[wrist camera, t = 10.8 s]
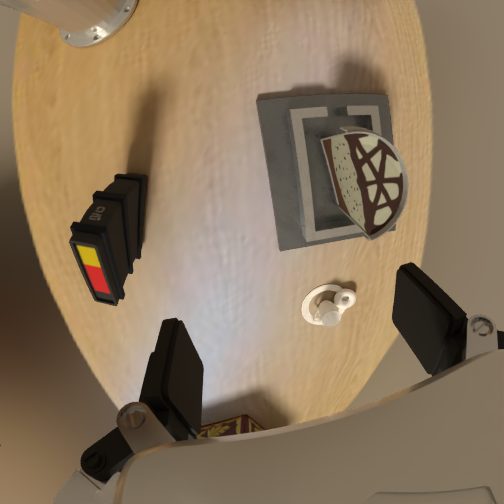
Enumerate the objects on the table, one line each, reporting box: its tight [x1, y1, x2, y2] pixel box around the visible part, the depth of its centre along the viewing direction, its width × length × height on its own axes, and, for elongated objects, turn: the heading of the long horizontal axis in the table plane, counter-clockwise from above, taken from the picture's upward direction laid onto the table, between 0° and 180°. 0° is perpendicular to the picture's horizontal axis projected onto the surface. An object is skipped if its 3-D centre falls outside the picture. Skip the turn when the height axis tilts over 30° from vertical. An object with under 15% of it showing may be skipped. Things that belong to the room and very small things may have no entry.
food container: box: [320, 126, 409, 241], centre depth 29 cm, size 12×6×10 cm, turn 19°
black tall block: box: [69, 173, 147, 306], centre depth 30 cm, size 4×13×15 cm, turn 168°
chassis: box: [256, 94, 396, 251], centre depth 33 cm, size 20×18×4 cm
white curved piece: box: [301, 284, 356, 327], centre depth 42 cm, size 9×8×4 cm
